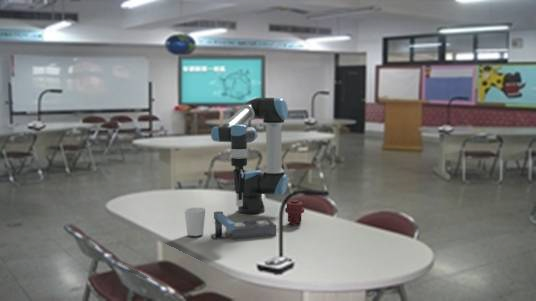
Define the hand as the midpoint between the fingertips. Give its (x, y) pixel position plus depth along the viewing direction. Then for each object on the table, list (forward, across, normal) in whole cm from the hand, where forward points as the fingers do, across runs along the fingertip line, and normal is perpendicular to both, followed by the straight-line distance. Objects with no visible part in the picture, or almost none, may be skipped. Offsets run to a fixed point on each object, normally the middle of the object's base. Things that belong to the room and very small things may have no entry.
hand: (239, 206), depth 260 cm
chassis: (+14, 0, +6) cm, 15 cm away
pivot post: (+14, 0, -10) cm, 18 cm away
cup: (+15, -6, -20) cm, 26 cm away
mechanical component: (+15, -11, +32) cm, 37 cm away
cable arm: (+5, +10, -10) cm, 15 cm away
